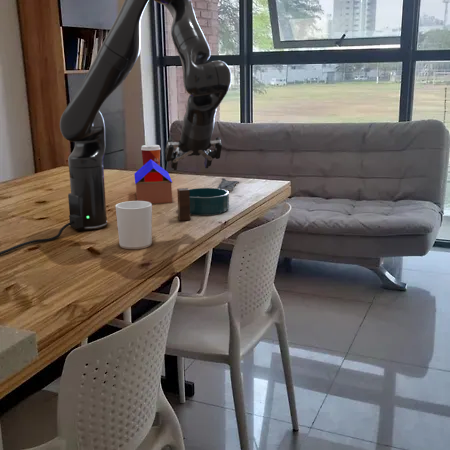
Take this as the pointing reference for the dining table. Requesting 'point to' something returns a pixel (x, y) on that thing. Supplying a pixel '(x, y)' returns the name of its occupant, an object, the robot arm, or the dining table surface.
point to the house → (153, 184)
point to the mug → (134, 224)
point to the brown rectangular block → (183, 204)
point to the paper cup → (151, 153)
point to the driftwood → (226, 184)
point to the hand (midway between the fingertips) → (190, 166)
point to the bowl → (208, 201)
